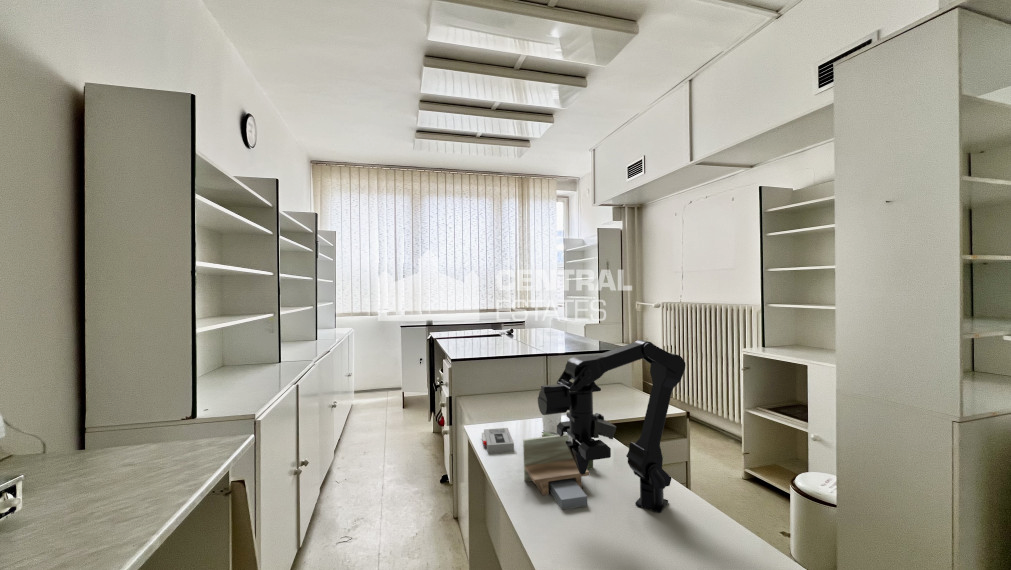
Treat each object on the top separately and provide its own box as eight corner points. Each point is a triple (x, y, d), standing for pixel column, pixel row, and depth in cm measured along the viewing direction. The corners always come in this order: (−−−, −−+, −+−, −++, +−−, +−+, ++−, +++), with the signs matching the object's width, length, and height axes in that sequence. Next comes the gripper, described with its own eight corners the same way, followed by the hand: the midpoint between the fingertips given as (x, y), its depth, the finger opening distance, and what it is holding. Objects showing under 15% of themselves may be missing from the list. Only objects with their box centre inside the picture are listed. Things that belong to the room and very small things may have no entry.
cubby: (589, 488, 118) (588, 445, 118) (535, 496, 114) (534, 452, 114) (574, 472, 128) (574, 433, 128) (524, 480, 124) (523, 439, 124)
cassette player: (513, 443, 145) (484, 445, 144) (514, 451, 145) (484, 453, 144) (507, 427, 161) (481, 429, 160) (507, 434, 161) (481, 436, 160)
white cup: (548, 425, 170) (547, 400, 170) (565, 429, 166) (565, 403, 166) (538, 431, 164) (537, 405, 164) (555, 435, 159) (555, 408, 159)
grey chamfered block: (587, 505, 109) (587, 496, 109) (561, 509, 108) (561, 499, 108) (565, 477, 125) (565, 469, 125) (543, 480, 123) (542, 472, 123)
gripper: (631, 418, 96) (632, 486, 96) (594, 397, 114) (595, 454, 115) (585, 423, 94) (587, 494, 94) (555, 401, 112) (556, 460, 112)
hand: (582, 473), depth 104 cm, fingers closed
